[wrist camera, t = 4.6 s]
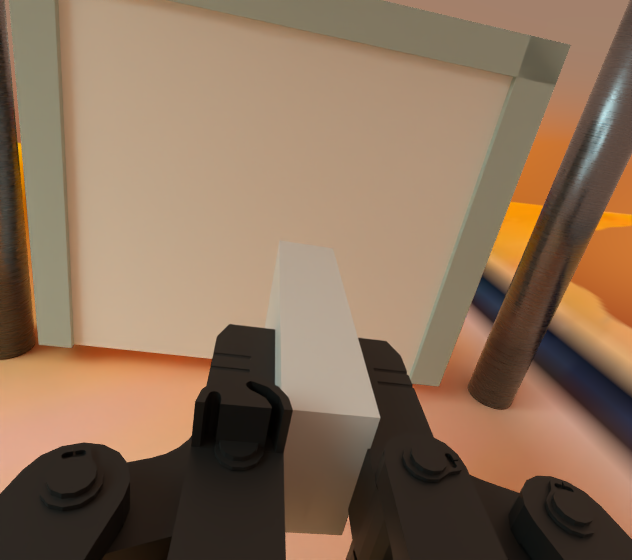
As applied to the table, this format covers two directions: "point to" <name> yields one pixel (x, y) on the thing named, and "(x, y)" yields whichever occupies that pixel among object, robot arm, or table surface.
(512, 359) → the posts
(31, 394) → the table surface
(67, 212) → the beige framed panel
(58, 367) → the table surface
